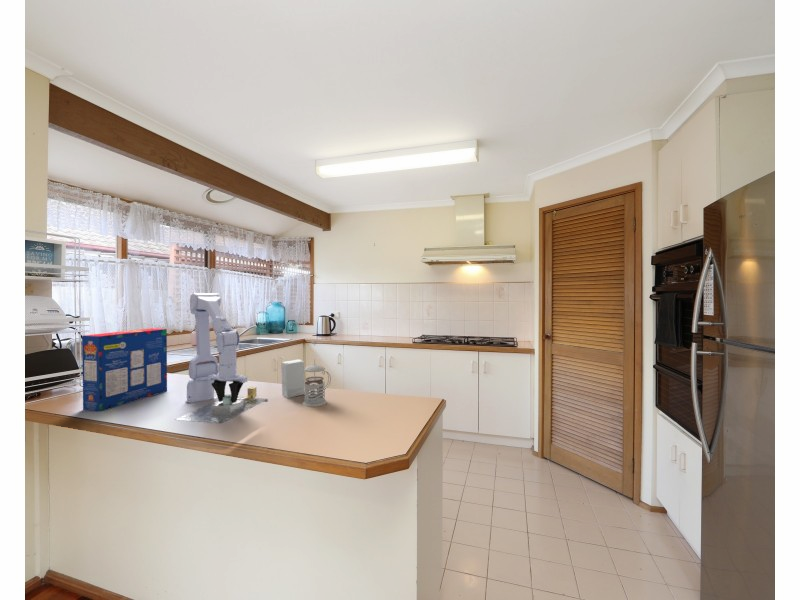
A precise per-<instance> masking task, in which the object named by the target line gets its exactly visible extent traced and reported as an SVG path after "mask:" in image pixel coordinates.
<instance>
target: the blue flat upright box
mask: <svg viewBox="0 0 800 600" xmlns="http://www.w3.org/2000/svg"><path fill="white" fill-rule="evenodd" d="M167 333H168V330H167V328H152V327H151V328H143V329H134V330H123V331H115V332H113V331H112V332H105V333H104V332H103V333H95V334H94V333H93V334H85V335H81V336H82V337H81V340H82V343H81V345H82V347H81V348H82V352H81V353H82V355H81V356H82V410H83V411H89V412H91V411H92V412H98V413H99V412H103V411H106V410H110V409H113V408H116V407H119V406H122V405H125V404H126V405H127V404H129V403H133V402H135V401H140V400H142V399H145V398H149V397H152V396H155V395H159V394H162V393H165V392H168V348H167V347H168V345H167V344H168V337H167V335H168V334H167Z"/></svg>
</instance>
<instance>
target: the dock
mask: <svg viewBox="0 0 800 600" xmlns="http://www.w3.org/2000/svg"><path fill="white" fill-rule="evenodd" d="M262 402H263V403H264V402H265V403H267V402H268V398H259V397H255V398H253V399H250V400H248V401H246V402H245V398H244V396H243V397H242V396H238V398H237V401H236V402H233V404H231V405H223V401H221V402H219V400H218V399H217V401H214V402H211V403H209V404H208V405H205V406H202V407H200V408H197V409H195V410H193V411H191V412H188V413H186V414H184V415H182V416H179V417H176V418H175V419H174V421H175V420H176V421H186V422H187V421H188V422H199V423H212V424H223V423H225V422H227V421H229V420H230V419H233V418H235V417H237V416H238V415H240V414H242V413H244V412H246V411H248V410H249V409H252V408H253V407H255V406H257V405H259V404H261V403H262Z"/></svg>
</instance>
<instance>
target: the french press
mask: <svg viewBox="0 0 800 600" xmlns="http://www.w3.org/2000/svg"><path fill="white" fill-rule="evenodd" d="M317 344H318V342H317V340H312V344H311V345H317ZM325 369H326V368H325V367H324V366H323V365H320V364H317V363H316V360H314V364H311V365H308V366H306V367H304V372H308V373H314V374H313V375H314V376H309V377H306V378H304V386H305V394H304V401H302V403H301V404H302V406H304V407H320V406H324V405H325V404H327V402H328V401H327V400H326V398H325V397H326V395H325V394H326V392H325V390H326V389H327V388H329V386H330V385H331V380H332V377H331V374H330V373H329V372H328V371H326V370H325ZM318 372H321V373H322V375H325V374H327V377H328V380H327V383H326V384H325V382H324V377H323V376H318V375H317V376H316V373H318Z"/></svg>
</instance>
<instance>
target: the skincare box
mask: <svg viewBox="0 0 800 600" xmlns="http://www.w3.org/2000/svg"><path fill="white" fill-rule="evenodd" d="M304 369H305V361H303V359H299V358H298V359H292V360H286V361H281V395H282V396H283V397H285V398H286V399H289V398H294V397H298V396H303V395H305V370H304Z"/></svg>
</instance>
